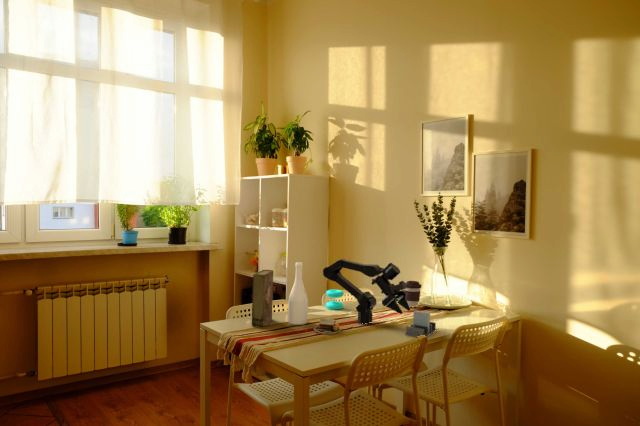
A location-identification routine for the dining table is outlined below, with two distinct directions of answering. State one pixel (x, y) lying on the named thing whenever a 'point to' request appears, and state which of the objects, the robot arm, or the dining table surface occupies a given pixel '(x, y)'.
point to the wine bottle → (298, 299)
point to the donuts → (334, 304)
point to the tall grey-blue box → (421, 318)
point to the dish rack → (420, 330)
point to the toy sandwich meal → (327, 326)
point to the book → (262, 297)
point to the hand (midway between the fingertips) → (405, 311)
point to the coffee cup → (413, 292)
